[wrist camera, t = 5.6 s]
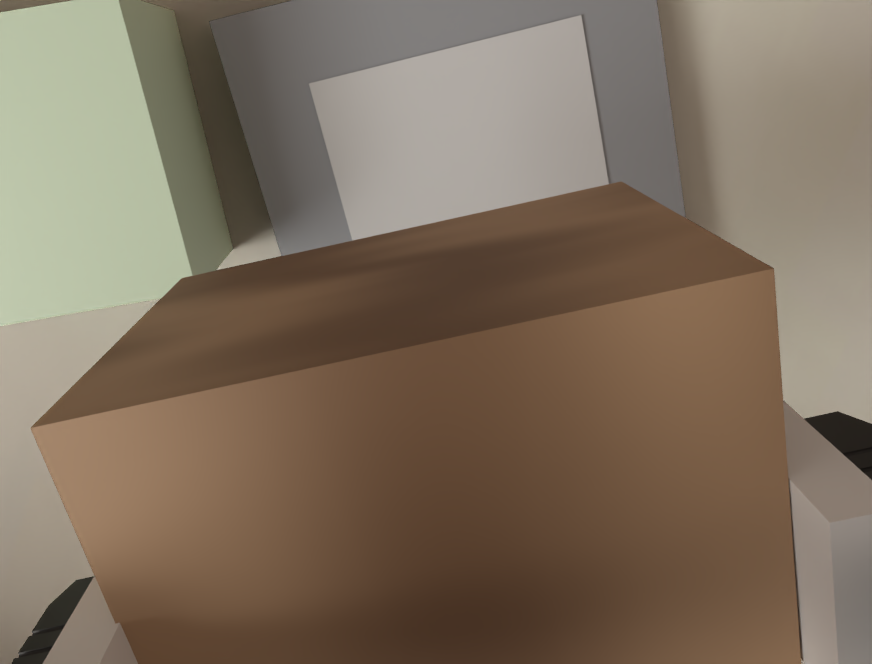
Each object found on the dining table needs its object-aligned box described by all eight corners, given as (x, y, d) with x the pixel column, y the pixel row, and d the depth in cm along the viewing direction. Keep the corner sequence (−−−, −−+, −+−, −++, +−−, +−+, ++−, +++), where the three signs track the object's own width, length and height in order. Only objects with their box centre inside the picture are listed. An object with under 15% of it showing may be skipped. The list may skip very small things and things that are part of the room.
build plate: (333, 404, 30) (331, 418, 29) (216, 23, 26) (208, 21, 24) (687, 316, 30) (701, 327, 29) (632, -82, 25) (646, -90, 24)
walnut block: (300, 631, 17) (247, 926, 11) (181, 278, 14) (30, 428, 8) (671, 556, 16) (811, 820, 11) (621, 181, 14) (773, 268, 8)
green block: (12, 285, 28) (-81, 340, 22) (-69, 51, 25) (-198, 45, 20) (234, 248, 28) (197, 292, 22) (175, 11, 26) (116, -7, 20)
